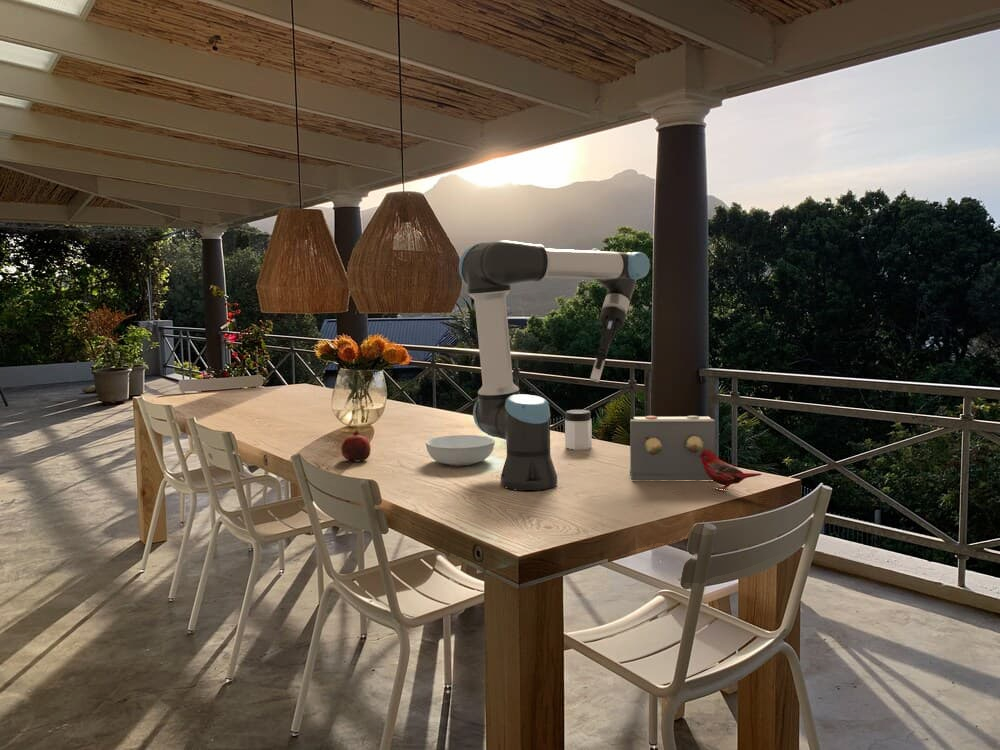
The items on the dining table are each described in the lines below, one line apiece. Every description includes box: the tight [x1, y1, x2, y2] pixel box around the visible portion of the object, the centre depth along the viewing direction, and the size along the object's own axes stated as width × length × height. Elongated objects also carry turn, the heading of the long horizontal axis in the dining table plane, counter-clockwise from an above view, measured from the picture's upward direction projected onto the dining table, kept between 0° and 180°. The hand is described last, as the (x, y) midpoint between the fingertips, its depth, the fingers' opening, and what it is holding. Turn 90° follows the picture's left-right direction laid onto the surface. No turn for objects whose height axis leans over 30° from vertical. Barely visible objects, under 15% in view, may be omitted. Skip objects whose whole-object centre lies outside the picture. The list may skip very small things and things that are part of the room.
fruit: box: [340, 428, 371, 462], centre depth 225 cm, size 9×10×10 cm
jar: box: [564, 409, 593, 451], centre depth 237 cm, size 9×8×12 cm
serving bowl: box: [425, 434, 495, 466], centre depth 220 cm, size 21×21×7 cm
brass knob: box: [644, 437, 662, 455], centre depth 195 cm, size 9×4×4 cm, turn 174°
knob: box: [685, 435, 703, 453], centre depth 196 cm, size 9×4×4 cm, turn 174°
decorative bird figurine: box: [698, 449, 762, 491], centre depth 182 cm, size 3×18×10 cm, turn 42°
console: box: [629, 415, 716, 480], centre depth 196 cm, size 6×22×17 cm, turn 84°
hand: (594, 380), depth 209 cm, fingers closed
